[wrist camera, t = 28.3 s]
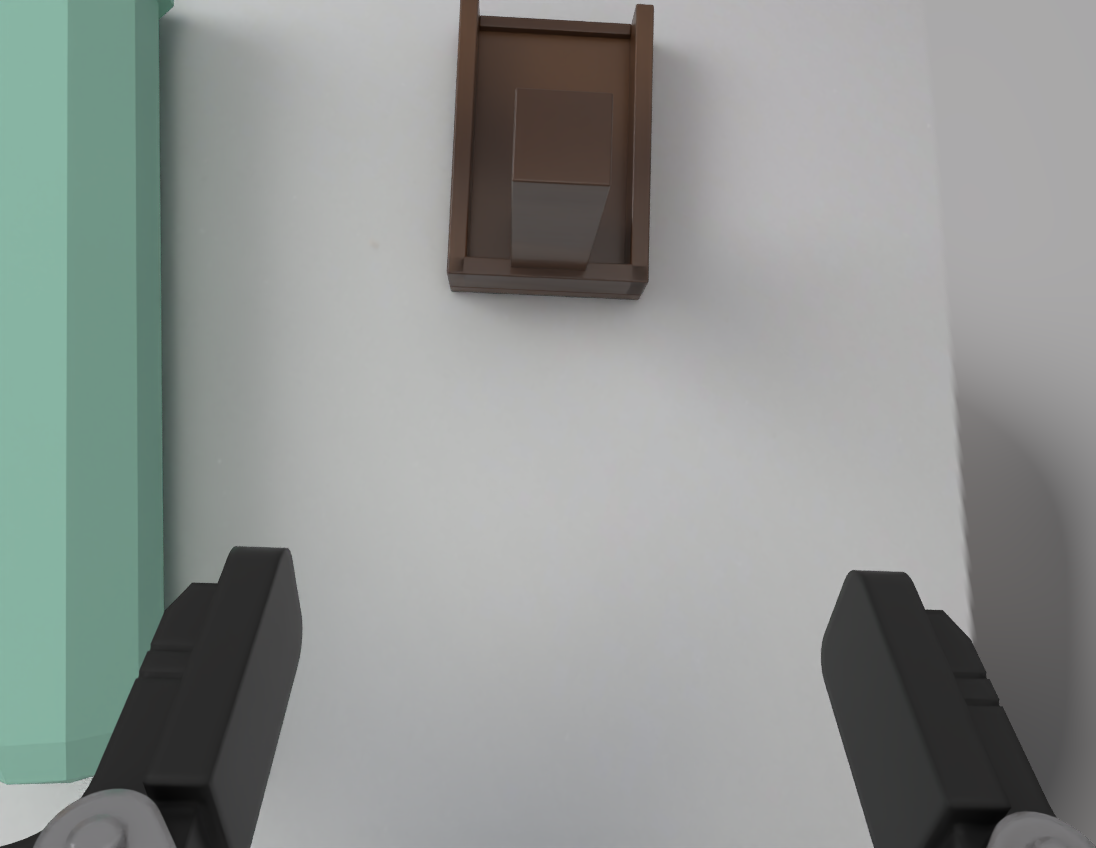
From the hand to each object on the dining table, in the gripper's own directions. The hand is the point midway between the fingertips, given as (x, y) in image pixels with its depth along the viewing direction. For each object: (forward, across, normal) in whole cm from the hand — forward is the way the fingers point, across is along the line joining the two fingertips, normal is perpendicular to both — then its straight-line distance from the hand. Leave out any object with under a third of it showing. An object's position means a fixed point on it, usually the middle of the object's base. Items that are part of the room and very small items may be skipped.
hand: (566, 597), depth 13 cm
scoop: (+21, 0, +2) cm, 21 cm away
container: (+16, +14, +8) cm, 23 cm away
